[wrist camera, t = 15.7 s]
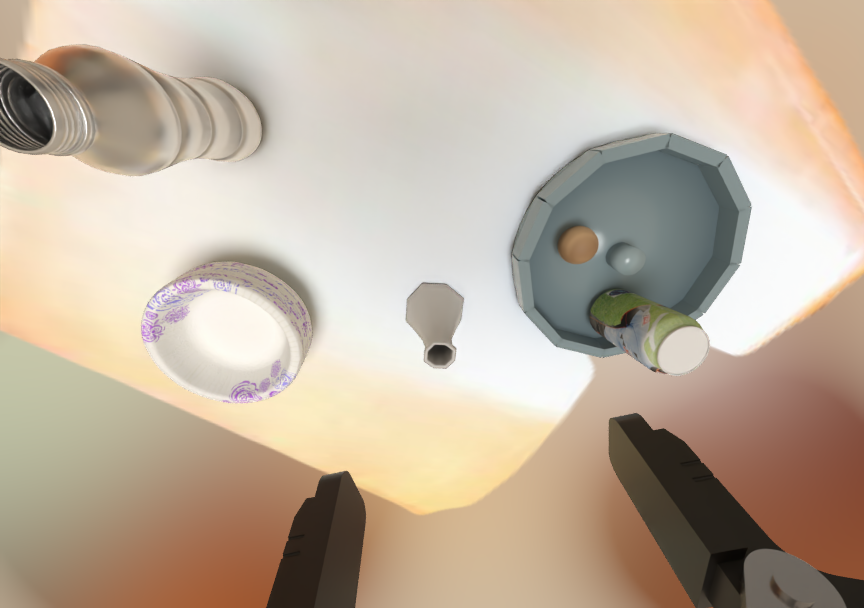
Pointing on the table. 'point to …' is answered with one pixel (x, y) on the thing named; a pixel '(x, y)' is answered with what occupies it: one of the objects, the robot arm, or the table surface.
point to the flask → (435, 321)
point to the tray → (631, 234)
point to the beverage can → (650, 332)
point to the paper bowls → (228, 332)
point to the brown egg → (578, 244)
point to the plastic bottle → (120, 112)
